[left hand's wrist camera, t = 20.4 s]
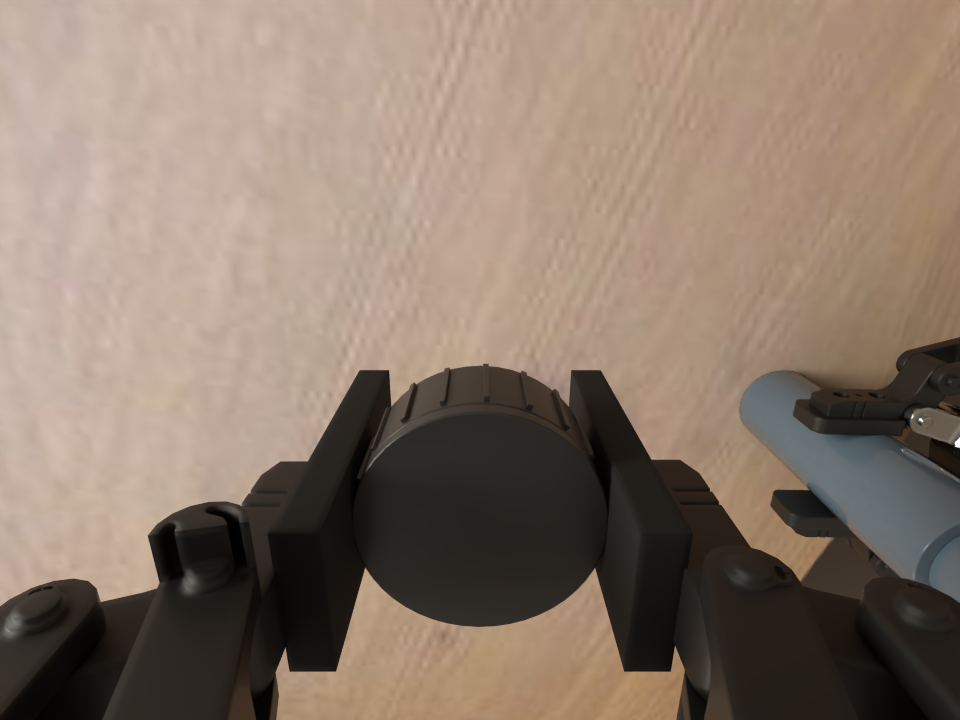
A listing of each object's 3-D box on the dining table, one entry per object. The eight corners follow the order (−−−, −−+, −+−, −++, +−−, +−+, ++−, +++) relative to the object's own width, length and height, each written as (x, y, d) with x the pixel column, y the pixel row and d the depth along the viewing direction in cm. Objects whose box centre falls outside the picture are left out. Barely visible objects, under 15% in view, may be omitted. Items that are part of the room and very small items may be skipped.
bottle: (743, 372, 31) (982, 558, 16) (818, 368, 31) (1125, 552, 16) (735, 438, 32) (948, 665, 18) (807, 435, 32) (1079, 658, 18)
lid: (594, 543, 13) (617, 619, 11) (391, 562, 13) (373, 640, 11) (583, 349, 11) (608, 394, 9) (350, 376, 11) (320, 425, 9)
